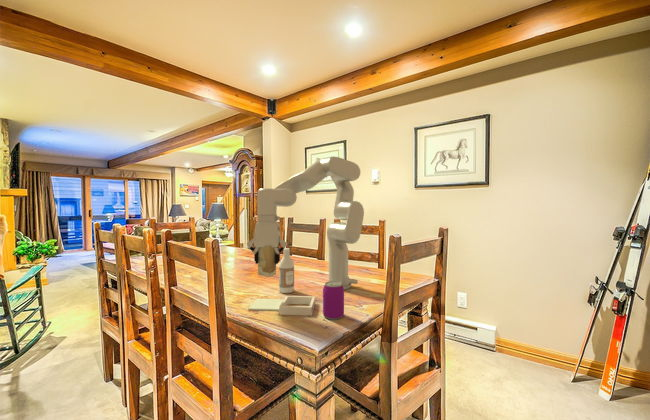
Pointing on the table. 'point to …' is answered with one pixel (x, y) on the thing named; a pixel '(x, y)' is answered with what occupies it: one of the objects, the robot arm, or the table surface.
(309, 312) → the collar
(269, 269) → the skincare box
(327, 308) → the beverage can
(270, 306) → the mat
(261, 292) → the table surface
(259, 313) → the table surface
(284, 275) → the bath foam
